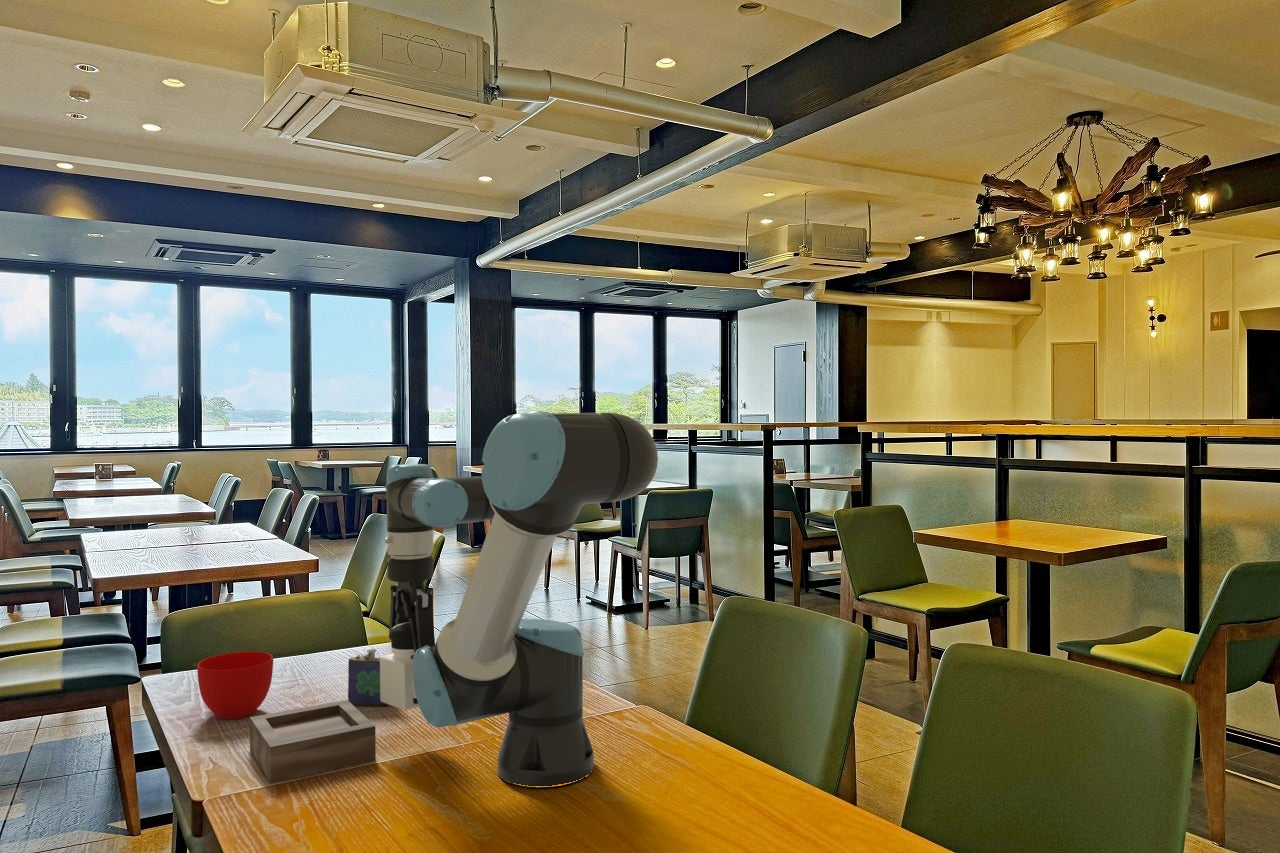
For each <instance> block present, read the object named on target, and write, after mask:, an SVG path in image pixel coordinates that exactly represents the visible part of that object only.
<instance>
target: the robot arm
mask: <svg viewBox="0 0 1280 853" xmlns="http://www.w3.org/2000/svg"><path fill="white" fill-rule="evenodd" d="M652 436H653V435H651V433H650V432H649V430H648V429H647V428H646V427H645V426H644V425H643V424H642V423H640V422H639V421H638V420H635V419H634V418H632V417H630V416H628V415H625V414H621V413H615V412H574V413H573V412H569V413H567V412H565V413H564V412H562V413H561V412H560V413H559V412H557V413H550V412H548V411H542V410H536V411H531V412H528V413H515V414H511V415H508V416H507V417H504V418H503V419H502V420H500V421H499V422H498V423H497V424H496V425H495V426H494V428H493V429H492V431H491V433H490V434H489V436H488V437H487V440H486V443H485V445H484V449H483V453H482V458H481V461H482V463H483V467H482V468H481V476H478V475H477V476H460V477H459V476H458V477H457V476H456V477H436V478H435V477H433V470H432V467H431V466H430V465H429V464H426V463H423V464H422V463H412V464H410V463H409V464H408V463H407V464H393V465H391V466H389V467H388V468H387V471H386V481H385V482H386V483H385V490H386V492H385V494H386V497H385V498H386V526H387V527H386V531H387V533H386V534H387V537H386V538H384V544H386V545H387V554H388V555H389V556H390V557H389V558H388V559H387V561H386V562H387V563H386V566H387V570H386V571H387V572H386V573H387V575H386V576H387V579H388V580H389V581H391V582H395V584H390V611H389V626H388V628H389V629H388V639H389V640H390V641H391V630H392V628H393V627H395V626H396V625H398V624H401V623H406V622H410V628H411V634H412V641H413V647H414V653H415V654H414V655H412V656H411V659H413V664H412V672H413V698H417V701H418V704H419V707H418V708H419V710H420V712H421V715H422V717H424V719H425V721H426V722H427V723H428V724H429V725H431V726H432V727H435V728H442V727H449V726H454V727H457V726H458V725H461V724H466V723H471V722H475V721H480V720H483V719H489V718H493V717H496V716H501V715H505V714H508V723H507V726H506V729H505V733H504V735H503V739H502V742H501V745H500V749H499V751H498V753H497V754H498V755H497V760H496V761H497V770H498V771H497V770H496V771H497V775H498V774H499V775H498V776H500V777H502V778H503V779H504V780H506V781H509V782H511V783H516V784H521V785H526V786H527V785H528V786H552V785H558V784H564V783H569V782H573V781H576V780H579V779H581V778H583V777H585V776H586V775H588V774H590V773H591V771H592V770H593V768H595V753H594V749H593V747H592V743H591V740H590V737H589V733H588V731H587V728H586V724H585V722H584V716H583V714H584V712H583V710H584V706H583V702H584V700H583V697H584V694H583V693H584V692H583V690H584V688H583V686H584V684H583V683H584V681H583V679H584V677H583V675H584V674H583V673H584V668H583V667H584V666H583V663H584V660H583V658H584V657H585V654H584V647H583V646H584V645H583V638H582V637H583V636H582V633H581V632H580V630H579V629H578V628H577V627H576V626H574V625H572V624H569V623H566V622H564V621H562V622H561V621H558V620H551V619H541V618H537V619H536V618H523V616H524V614H525V612H526V610H527V607H528V605H529V602H530V600H531V598H532V595H533V593H534V591H535V588H536V586H537V583H538V582H539V579H540V576H541V574H542V572H543V569H544V567H545V565H546V562H547V560H548V557H549V555H550V553H551V551H552V548H553V545H554V543H555V541H556V538H557V537H558V536H561V535H563V534H564V535H565V533H567V532H569V531H570V530H571V529H572V528H573V527H574V525H575V523H576V520H577V518H578V516H579V514H580V511H581V509H582V507H583V506H585V505H588V504H589V505H591V504H605V503H615V502H621V501H625V500H627V499H630V498H634V497H635V496H637V495H639V494H641V493H642V492H643V491H644V490H646V489H647V487H648V486H649V485H650V484H651V483H652V481H653V479H654V477H655V475H656V473H657V469H658V463H659V455H658V449H657V448H658V447H657V445H656V441H655V440H654V439H653V437H652ZM490 521H491V522H490ZM480 522H481V523H482V522H490V524H489V528H488V531H487V534H486V536H485V538H484V541H483V545H482V547H481V549H480V552H479V556H478V558H477V560H476V564H475V566H474V570H473V572H472V574H471V578H470V579H469V583H468V586H467V588H466V590H465V593H464V596H463V600H462V602H461V605H460V607H459V610H458V613H457V615H456V618H455V619H452V620H451V621H449V622H448V623H446V624H445V625H444V626H443V627H442V629H441V630H440V632H439V634H438V636H437V639H436V638H435V629H434V616H433V594H432V593H427V591H426V590H425V584H424V583H425V581H426V580H430V579H432V578H433V577H434V557H433V556H432V555H431V554H432V553H433V552H434V528H436V529H437V528H448V527H452V526H454V525H457V524H468V523H480ZM396 583H397V584H396ZM435 639H436V640H435ZM593 771H594V770H593ZM591 774H592V773H591ZM591 774H590V775H591ZM500 777H499V778H500ZM503 779H502V780H503ZM504 780H503V781H504ZM506 781H505V782H506Z"/></svg>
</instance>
